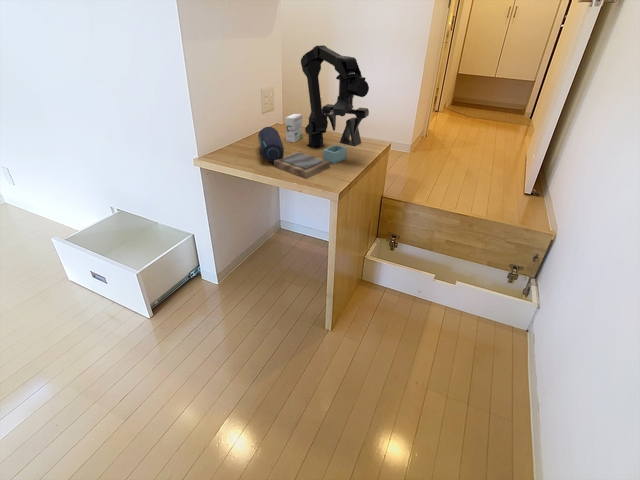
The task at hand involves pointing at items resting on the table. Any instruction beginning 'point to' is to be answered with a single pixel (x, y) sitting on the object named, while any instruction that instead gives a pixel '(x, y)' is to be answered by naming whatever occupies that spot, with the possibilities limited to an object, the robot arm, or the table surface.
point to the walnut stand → (302, 164)
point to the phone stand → (350, 131)
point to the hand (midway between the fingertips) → (344, 132)
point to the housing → (335, 154)
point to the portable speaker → (270, 144)
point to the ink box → (293, 127)
